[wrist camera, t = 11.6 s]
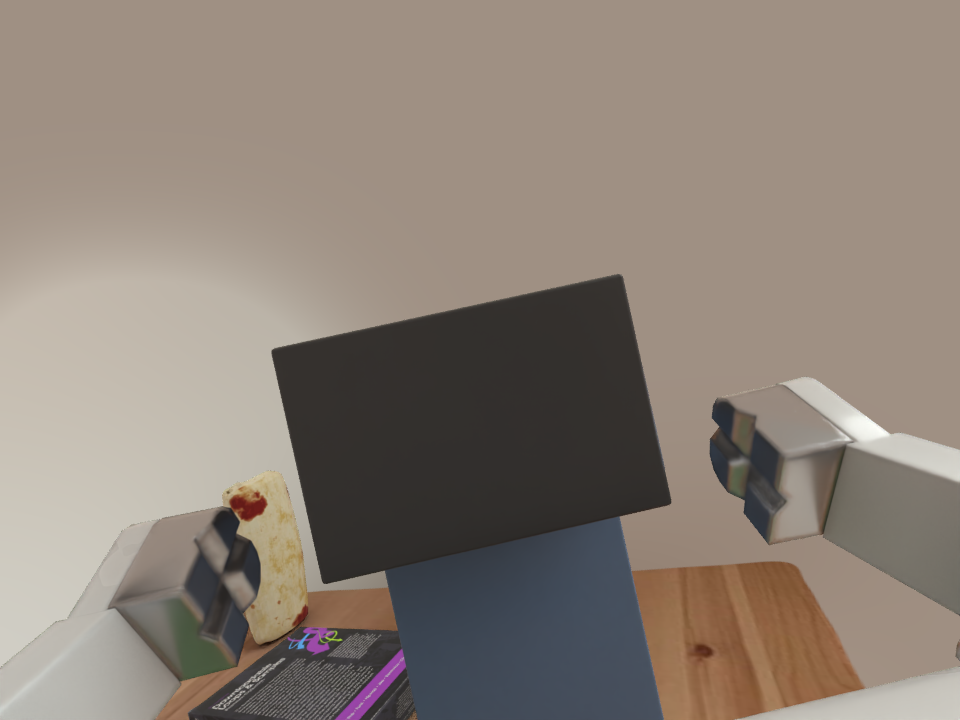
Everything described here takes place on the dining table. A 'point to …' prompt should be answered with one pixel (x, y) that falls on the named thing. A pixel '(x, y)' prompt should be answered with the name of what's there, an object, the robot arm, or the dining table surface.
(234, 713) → the box
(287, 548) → the food model
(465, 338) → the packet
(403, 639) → the shelf stand
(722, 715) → the dining table surface
